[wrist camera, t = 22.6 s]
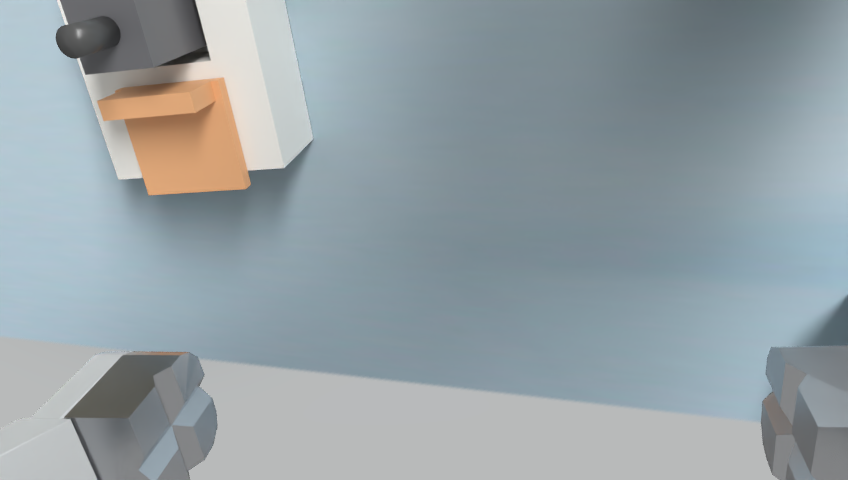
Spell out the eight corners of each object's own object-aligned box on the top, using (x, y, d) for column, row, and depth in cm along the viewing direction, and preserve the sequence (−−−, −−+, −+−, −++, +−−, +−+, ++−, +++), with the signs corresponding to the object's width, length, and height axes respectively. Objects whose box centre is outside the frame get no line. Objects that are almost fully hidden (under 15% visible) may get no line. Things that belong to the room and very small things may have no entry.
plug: (148, -23, 43) (18, 2, 33) (208, -31, 43) (94, -9, 32) (167, 44, 45) (49, 88, 35) (224, 37, 44) (122, 80, 34)
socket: (91, -82, 44) (29, -80, 39) (262, -110, 42) (220, -112, 37) (163, 150, 51) (118, 179, 46) (313, 139, 49) (284, 167, 43)
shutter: (121, 87, 43) (89, 101, 40) (223, 77, 41) (197, 91, 38) (155, 190, 46) (127, 211, 43) (251, 184, 44) (229, 205, 41)
